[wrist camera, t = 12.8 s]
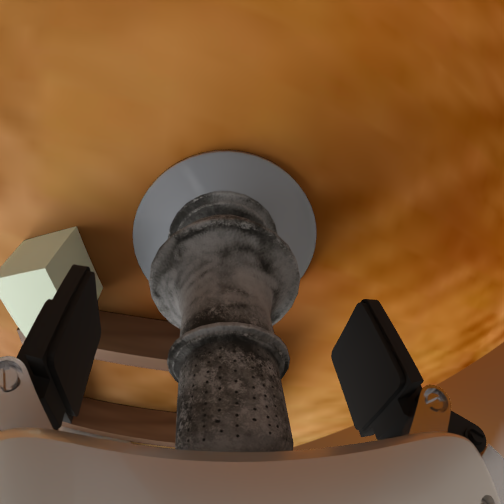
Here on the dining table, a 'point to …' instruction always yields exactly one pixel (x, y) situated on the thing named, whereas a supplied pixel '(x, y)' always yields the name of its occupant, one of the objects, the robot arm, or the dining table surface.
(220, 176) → the slate coaster
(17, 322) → the sage block
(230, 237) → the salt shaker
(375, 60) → the dining table surface
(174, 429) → the walnut corral
